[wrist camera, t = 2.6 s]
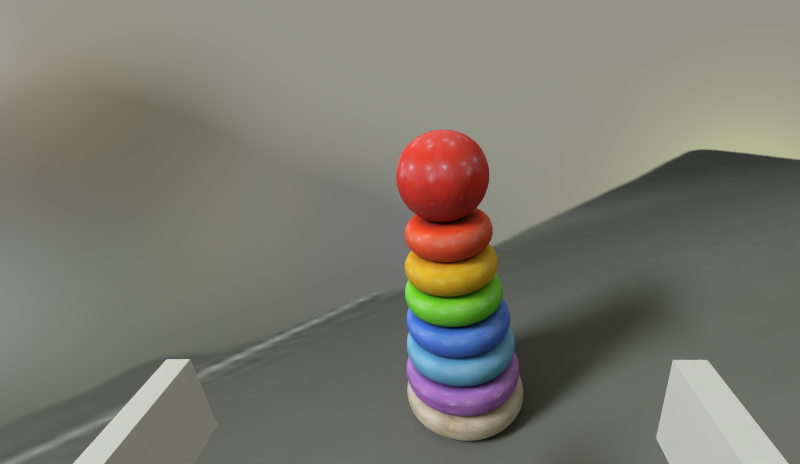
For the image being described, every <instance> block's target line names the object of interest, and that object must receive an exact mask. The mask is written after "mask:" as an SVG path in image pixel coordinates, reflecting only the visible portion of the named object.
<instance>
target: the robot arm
mask: <svg viewBox="0 0 800 464" xmlns="http://www.w3.org/2000/svg"><path fill="white" fill-rule="evenodd" d="M216 427H217V423H216V421H215V419H214V416H213V414H212V411H211V409H210V406H209V404H208V401H207V399H206V397H205V394H204V392H203V389H202V387H201V384H200V382H199V380H198V377H197V375H196V372H195V370H194V367H193V365H192V363H191V360H190V359H167V360H166V361H165V362H164V363H163V364H162V365H161V366H160V367H159V369H158V370H157V371H156V372H155V373H154V374H153V375H152V376H151V377H150V379H149V380H148V381H147V382H146V383H145V384H144V385H143V386H142V388H141V389H140V390H139V391H138V392H137V393H136V394H135V395H134V396H133V398H132V399H131V400H130V401H129V402H128V403H127V404H126V405H125V406H124V408H123V409H122V410H121V411H120V412H119V413H118V414H117V415H116V416H115V418H114V419H113V420H112V421H111V422H110V423H109V424H108V425H107V426H106V428H105V429H104V430H103V431H102V432H101V433H100V434H99V435H98V437H97V438H96V439H95V440H94V441H93V442H92V443H91V444H90V445H89V447H88V448H87V449H86V450H85V451H84V452H83V453H82V454H81V455H80V457H79V458H78V459H77V460H76V461H75V462H74V463H73V464H194V462H195V461H196V459H197V457H198V456H199V454H200V453H201V451H202V449H203V448H204V446H205V444H206V443H207V441H208V440H209V438H210V436H211V435H212V433H213V431H214V430H215V428H216ZM656 439H657V441H658V442H659V444H660V446H661V448H662V450H663V452H664V454H665V456H666V458H667V460H668V462H669V464H788V463H787V461H786V460H785V459H784V458H783V456H782V455H781V454H780V452H779V451H778V450H777V449H776V447H775V446H774V445H773V443H772V442H771V441H770V440H769V438H768V437H767V436H766V435H765V433H764V432H763V431H762V429H761V428H760V427H759V426H758V424H757V423H756V422H755V420H754V419H753V418H752V417H751V415H750V414H749V413H748V412H747V410H746V409H745V408H744V406H743V405H742V404H741V403H740V401H739V400H738V399H737V397H736V396H735V395H734V394H733V392H732V391H731V390H730V389H729V387H728V386H727V385H726V383H725V382H724V381H723V380H722V378H721V377H720V376H719V374H718V373H717V372H716V371H715V369H714V368H713V367H712V366H711V364H710V363H709V362H708V360H673V362H672V367H671V372H670V376H669V381H668V386H667V390H666V395H665V400H664V404H663V409H662V413H661V418H660V423H659V427H658V432H657V437H656Z"/></svg>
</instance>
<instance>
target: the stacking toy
mask: <svg viewBox="0 0 800 464" xmlns="http://www.w3.org/2000/svg"><path fill="white" fill-rule="evenodd" d="M396 181H397V186H398V190H399V193H400V196H401V198H402V199H403V201H404V203H405V204H406V205H407V207H408V208H409V209H410V210H411V211H412V212H414V213H415V214H416V215H415V216H414V217H412V219H411V220H410V221H409V222H408V224H407V226H406V229H405V239H406V243H407V245H408V246H409V248H410V249H411V252H410V253H409V255H408V256H407V259H406V262H405V272H406V276H407V278H408V282H407V285H406V288H405V297H406V302H407V304H408V307H409V309H408V313H407V327H408V330H409V334H408V337H407V351H408V355H409V357H408V361H407V377H408V389H407V393H408V400H409V404H410V406H411V408H412V410H413V412H414V414H415V415H416V417H417V418H418V420H419V421H420V422H421V423H422V424H423V425H425V426H426V427H427V428H428V429H430V430H432V431H433V432H435V433H437V434H439V435H442V436H444V437H448V438H451V439H456V440H462V441H474V440H481V439H485V438H488V437H491V436H493V435H496V434H498V433H499V432H501V431H503V430H504V429H505V428H507V427H508V426H509V425H510V424H511V423H512V422H513V421H514V419H515V418H516V416H517V415H518V413H519V411H520V409H521V406H522V402H523V385H522V381H521V378H520V375H519V363H518V359H517V356H516V354H515V352H514V350H515V340H514V335H513V332H512V330H511V328H510V326H509V325H510V313H509V309H508V306H507V304H506V302H505V301H504V299H503V298H502V296H503V287H502V283H501V280H500V278H499V276H498V275H497V273H496V271H497V267H498V259H497V255H496V253H495V251H494V249H493V248H492V247H491V246H490V245H489V242H490V240H491V237H492V224H491V221H490V219H489V217H488V216H487V215H486V214H485V213H484V212H482V211H481V210H479V209H477V208H476V207H477V206H478V205H479V203H480V202H481V201H482V199H483V198H484V195H485V193H486V190H487V187H488V183H489V167H488V163H487V160H486V157H485V155H484V153H483V151H482V149H481V148H480V147H479V145H478V144H477V143H476V142H475V141H473V140H472V139H471V138H470V137H468V136H467V135H465V134H462V133H460V132H457V131H452V130H435V131H430V132H427V133H424V134H423V135H421V136H419V137H417V138H416V139H414V140H413V141H412V142H411V143H410V144H409V145H408V146H407V147H406V148H405V150H404V151H403V153H402V154H401V157H400V159H399V162H398V166H397V172H396Z"/></svg>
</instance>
